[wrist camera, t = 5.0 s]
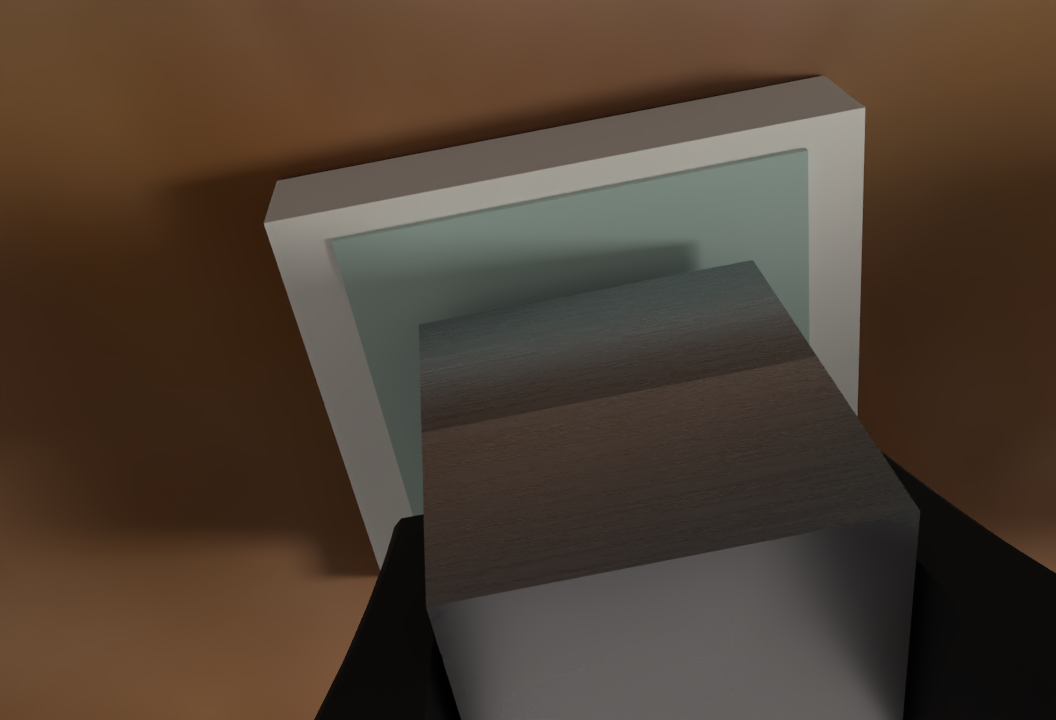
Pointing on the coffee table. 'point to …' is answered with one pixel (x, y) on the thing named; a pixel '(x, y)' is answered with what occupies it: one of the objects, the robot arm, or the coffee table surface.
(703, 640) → the block
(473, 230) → the stand
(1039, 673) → the robot arm
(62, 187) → the coffee table surface
